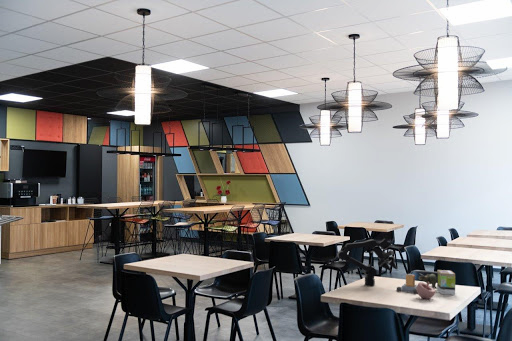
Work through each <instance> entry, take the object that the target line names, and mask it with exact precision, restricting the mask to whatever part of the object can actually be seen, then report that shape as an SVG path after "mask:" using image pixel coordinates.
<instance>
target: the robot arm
mask: <svg viewBox="0 0 512 341" xmlns="http://www.w3.org/2000/svg"><path fill="white" fill-rule="evenodd" d="M390 247H391V244H390V242H389V241H388V240H387V239H386V238H383V239H382V240H381V241H380V242H377V241H376V240H375V239H373V238H372V239H371V238H369V239H368V240H364V241H360V242H359V241H358V242H352V243H351V242H350V243H346V244H345V245H344V246H343V247H342V248H341V249H340V250H338V251H337V253H336V256H337V258H338V259H340V260H342V261H345V262H348V263H350V264H353V265H354V266H356V267H358V268H360V269H361V270H364V271H365V272H364V273H363V274H364V286H367V287H368V286H369V287H373V286H375V285H376V283H375V282H376V281H375V276H376V275H377V273H378V272H377V269H376V268H375V267H374V266H372V265H371V264H369V263H368V264H364V263H363V262H360V261H358V260H357V259H355V258H354V257H351V256H349V255H348V253H349V251H350V250H351V249H358V248H370V253H371V254H372V253H374V254H375V256H376V258H377V259H379V260H378V261H377V265H378V267H380V268H384V269H385V270H387V271H389V272H392V269H391V268H393V269H395V270H397V269H398V267H397V265H396V262H395V260H396V257H395V256H394V255H395V253H394V252H395V251H394V250H392V249H389V250H388V251H387V252H386V251H385V250H387V249H388V248H390Z"/></svg>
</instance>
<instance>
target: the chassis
mask: <svg viewBox="0 0 512 341" xmlns="http://www.w3.org/2000/svg"><path fill="white" fill-rule="evenodd" d="M417 285H418V284H415V287H410V286H406V283H404V284H402V285H401V286H396V291H397V292H405V293H412V294H418V293H417Z"/></svg>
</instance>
